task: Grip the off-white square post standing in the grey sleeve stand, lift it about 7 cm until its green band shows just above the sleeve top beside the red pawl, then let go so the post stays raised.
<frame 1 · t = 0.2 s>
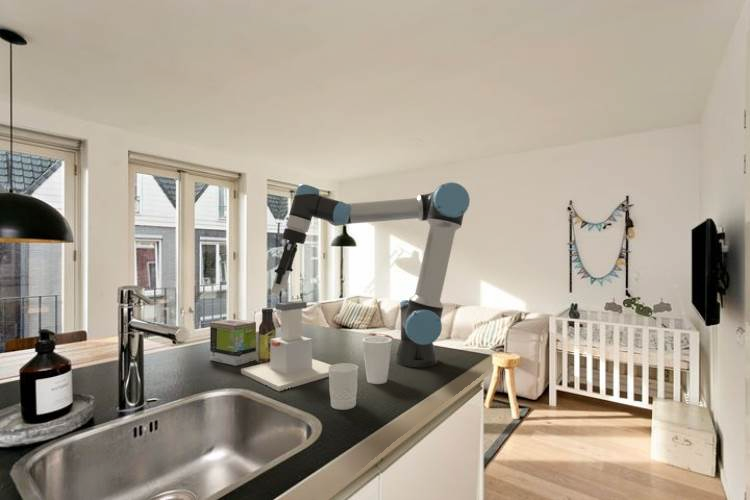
hand: (278, 290, 126), 28 cm above the counter, tool tilted 15°, fingers open, 13 cm apart
post stand: (291, 372, 127), on the counter
foam cup: (377, 381, 120), on the counter
tea box: (233, 360, 143), on the counter
white cup: (343, 405, 101), on the counter
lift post: (291, 335, 128), point 13 cm above the counter, slide at 0.0 cm
sauce bottle: (267, 362, 141), on the counter
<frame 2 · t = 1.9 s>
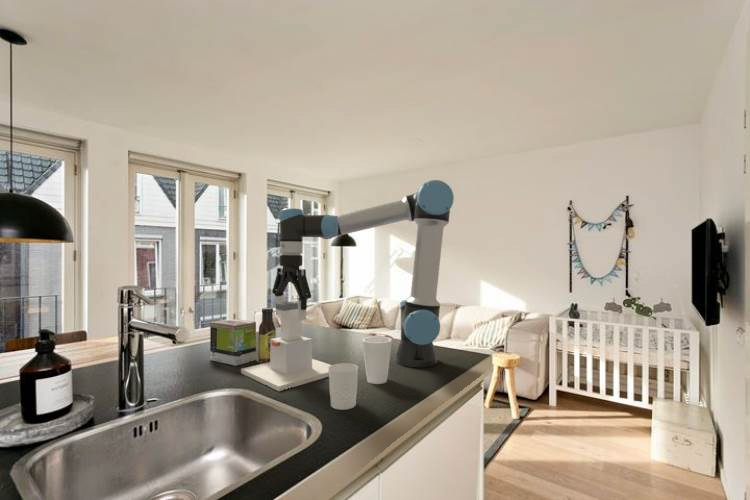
hand: (290, 317, 128), 19 cm above the counter, tool pointing down, fingers open, 13 cm apart
nothing on the counter moved.
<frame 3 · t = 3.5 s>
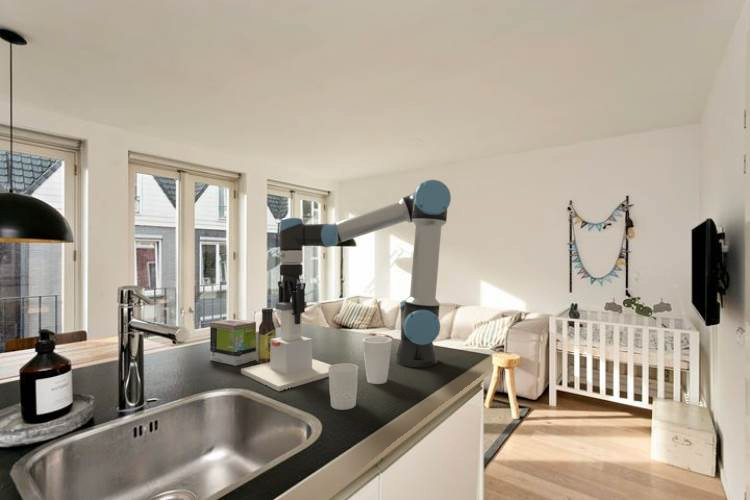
hand: (291, 332, 128), 14 cm above the counter, tool pointing down, fingers closed on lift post, 5 cm apart
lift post: (291, 335, 128), point 13 cm above the counter, slide at 0.0 cm, touching gripper
everything else where it was.
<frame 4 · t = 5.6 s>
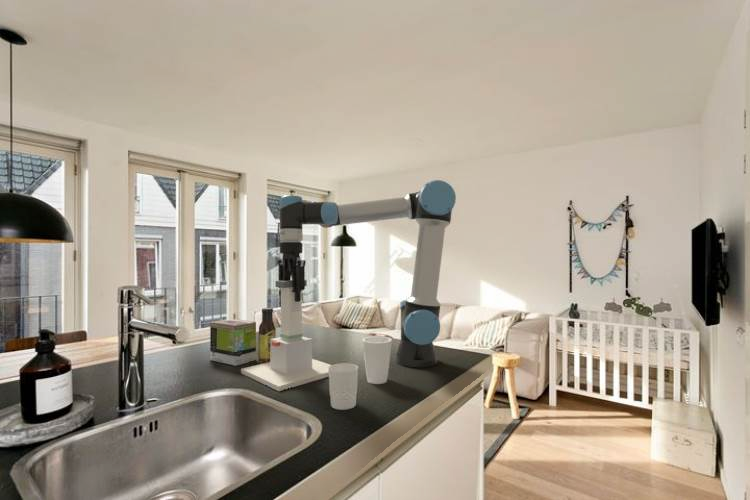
hand: (291, 310, 128), 21 cm above the counter, tool pointing down, fingers closed on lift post, 5 cm apart
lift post: (291, 313, 128), point 20 cm above the counter, slide at 7.4 cm, touching gripper
everything else where it was.
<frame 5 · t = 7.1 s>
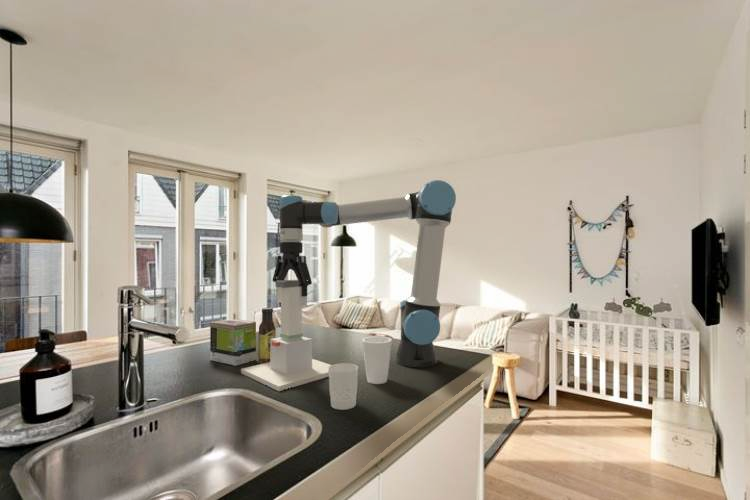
hand: (291, 304, 128), 23 cm above the counter, tool pointing down, fingers open, 13 cm apart
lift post: (291, 313, 128), point 20 cm above the counter, slide at 7.5 cm
everything else where it was.
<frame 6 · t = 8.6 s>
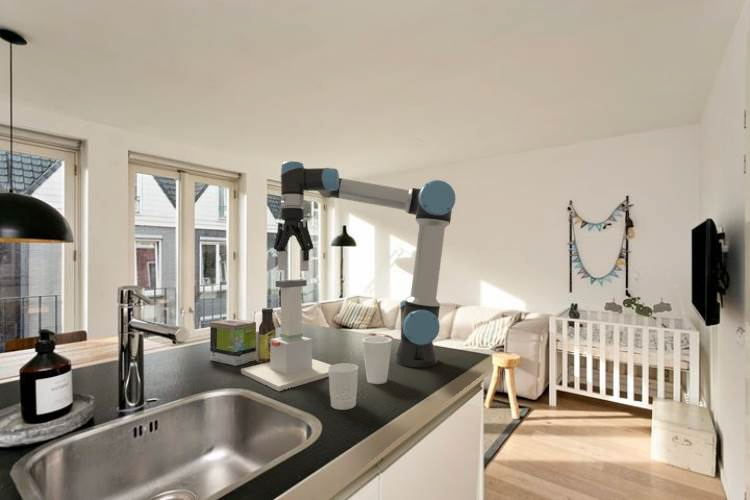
hand: (292, 270, 128), 35 cm above the counter, tool pointing down, fingers open, 13 cm apart
nothing on the counter moved.
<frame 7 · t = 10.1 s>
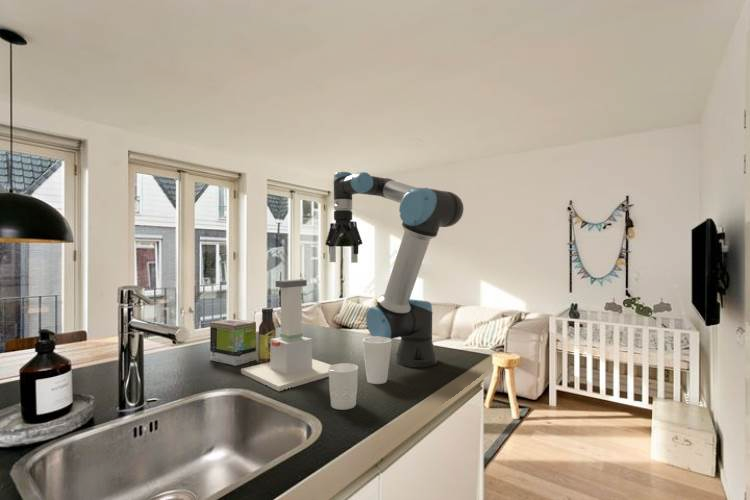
hand: (343, 262, 155), 37 cm above the counter, tool pointing down, fingers open, 13 cm apart
nothing on the counter moved.
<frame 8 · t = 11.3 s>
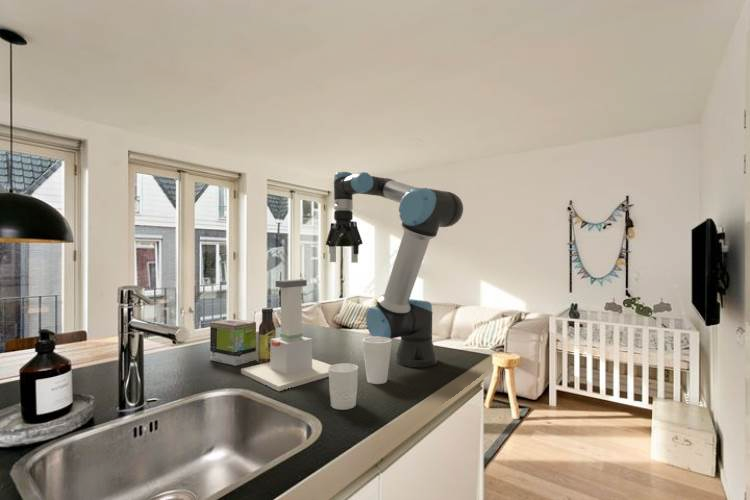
hand: (343, 262, 155), 37 cm above the counter, tool pointing down, fingers open, 13 cm apart
nothing on the counter moved.
at the end: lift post slide at 7.5 cm; the gripper is holding nothing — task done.
